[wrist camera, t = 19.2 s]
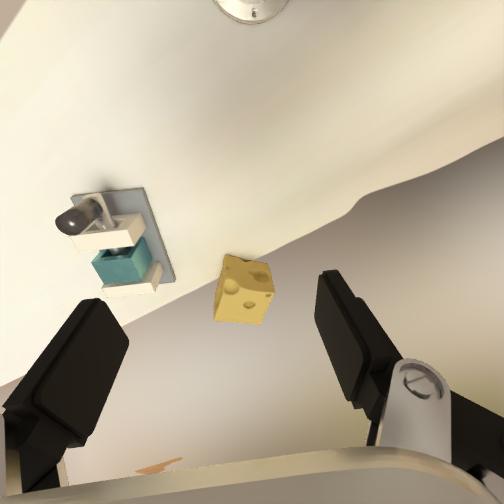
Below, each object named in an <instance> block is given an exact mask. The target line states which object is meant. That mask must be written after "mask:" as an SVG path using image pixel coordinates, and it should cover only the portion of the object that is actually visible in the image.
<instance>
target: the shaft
mask: <svg viewBox="0 0 504 504" xmlns="http://www.w3.org/2000/svg"><path fill="white" fill-rule="evenodd" d="M82 198H83V200H82V201H81V202H79V203H78V204H76V205H75V206H73V207H72V208H70V209H69V210H67V211H66V212H64V213H63V214H61V215H60V216H58V217H57V218H56V220H55V223H56V226H57V228H58V229H59V230H60V231H61V232H63V233H65V234H67V235H70V236H76V235H79V234H80V233H81V232H82V231H83V230H85V229H86V228H87V227H88V226H89V225H90V224H91V223H93V222H94V221H95V223H96V225H97V227H98V229H99V230H105V229H114V228H117V227H116V225H115V223H114V221H113V219H112V217H111V215H110V212H109V210H108V208H107V206H106V204H105V202H104V200H103V198H102V195H101V193H91V194H88V195H85V196H83V197H82ZM109 250H110V252H111V254H112V256H121V255H128V251H127V249H126V247H120V248H111V249H109Z"/></svg>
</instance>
